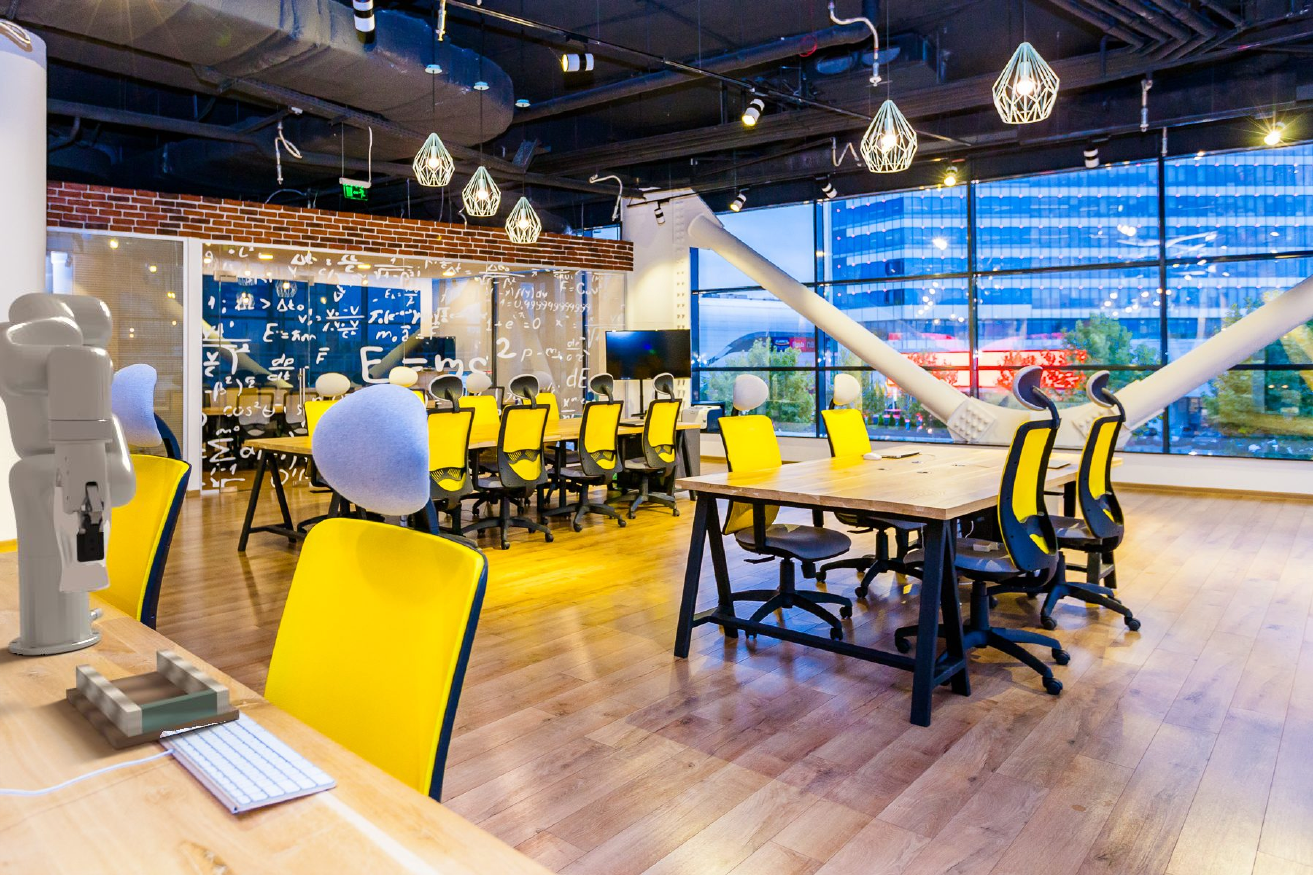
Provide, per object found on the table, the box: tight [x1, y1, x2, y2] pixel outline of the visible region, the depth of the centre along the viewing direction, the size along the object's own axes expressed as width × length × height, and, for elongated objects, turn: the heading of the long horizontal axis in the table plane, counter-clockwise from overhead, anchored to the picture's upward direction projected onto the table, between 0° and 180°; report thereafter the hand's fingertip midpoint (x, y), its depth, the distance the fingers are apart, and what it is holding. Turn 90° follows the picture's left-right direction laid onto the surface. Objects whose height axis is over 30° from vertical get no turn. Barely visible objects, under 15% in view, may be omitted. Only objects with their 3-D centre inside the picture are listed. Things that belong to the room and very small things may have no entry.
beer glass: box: [53, 483, 113, 593], centre depth 124 cm, size 7×7×15 cm
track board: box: [65, 648, 240, 751], centre depth 116 cm, size 24×14×4 cm, turn 46°
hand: (84, 556), depth 125 cm, fingers closed on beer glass, 6 cm apart
